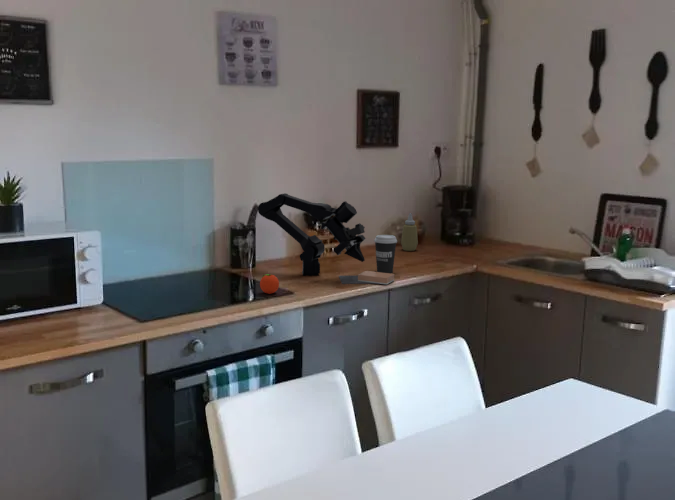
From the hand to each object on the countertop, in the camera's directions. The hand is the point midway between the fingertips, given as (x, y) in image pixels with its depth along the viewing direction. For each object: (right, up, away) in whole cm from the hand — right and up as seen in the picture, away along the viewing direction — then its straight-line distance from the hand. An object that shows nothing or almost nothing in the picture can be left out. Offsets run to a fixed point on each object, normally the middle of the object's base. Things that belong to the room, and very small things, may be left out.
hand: (363, 261), depth 273 cm
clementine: (-35, -11, -20) cm, 42 cm away
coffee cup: (+9, -5, +17) cm, 20 cm away
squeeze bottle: (+24, +4, +66) cm, 70 cm away
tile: (+5, -6, -1) cm, 8 cm away
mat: (-2, -7, +2) cm, 8 cm away
